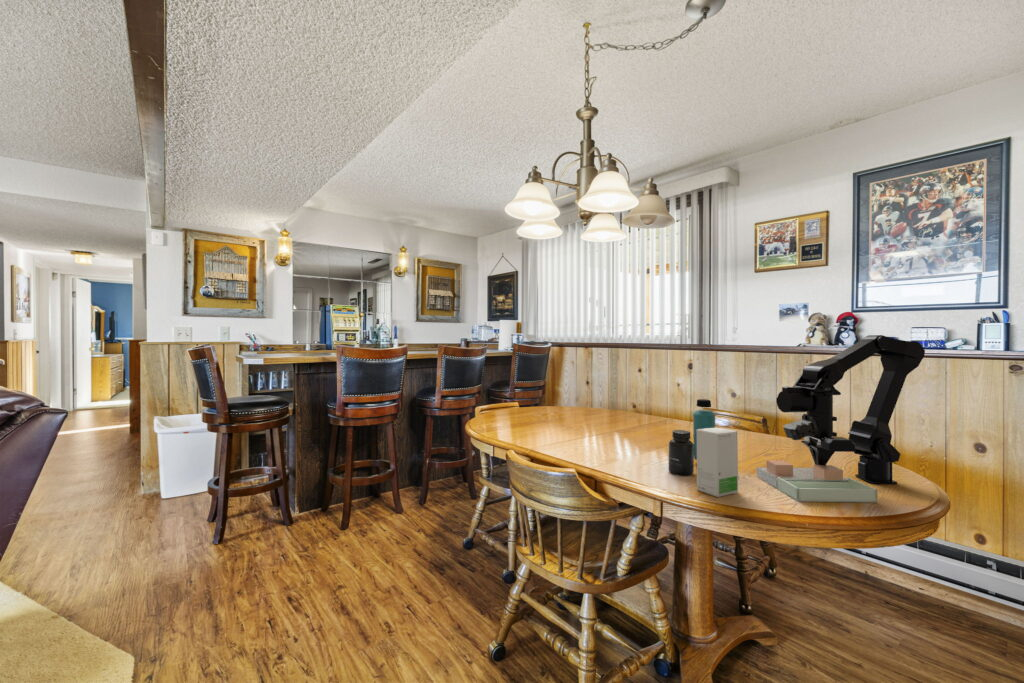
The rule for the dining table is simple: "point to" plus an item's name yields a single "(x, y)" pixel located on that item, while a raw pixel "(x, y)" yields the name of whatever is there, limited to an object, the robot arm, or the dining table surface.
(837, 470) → the tile
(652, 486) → the dining table surface
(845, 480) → the plate
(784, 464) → the tile
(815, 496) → the tray
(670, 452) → the supplement bottle
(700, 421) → the beverage bottle
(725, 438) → the skincare box
